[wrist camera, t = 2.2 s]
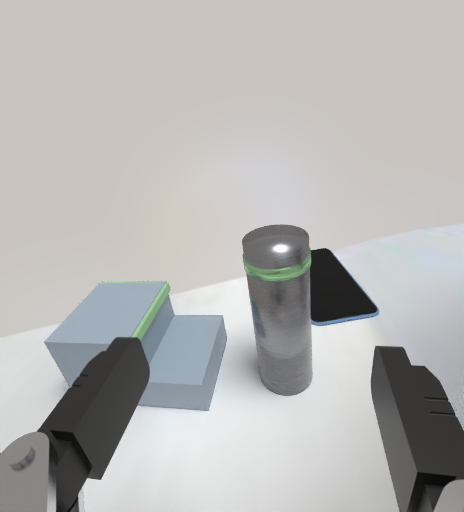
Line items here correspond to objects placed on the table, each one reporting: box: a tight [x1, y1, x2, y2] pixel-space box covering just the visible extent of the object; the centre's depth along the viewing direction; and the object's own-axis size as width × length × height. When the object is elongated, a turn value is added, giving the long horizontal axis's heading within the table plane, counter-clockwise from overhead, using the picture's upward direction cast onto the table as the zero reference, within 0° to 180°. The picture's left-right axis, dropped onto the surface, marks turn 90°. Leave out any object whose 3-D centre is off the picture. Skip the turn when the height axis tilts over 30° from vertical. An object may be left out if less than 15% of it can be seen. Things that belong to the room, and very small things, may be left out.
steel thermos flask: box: [242, 225, 312, 395], centre depth 24 cm, size 5×5×13 cm
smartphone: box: [310, 248, 379, 326], centre depth 38 cm, size 7×1×15 cm
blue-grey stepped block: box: [44, 281, 227, 410], centre depth 28 cm, size 12×8×7 cm
